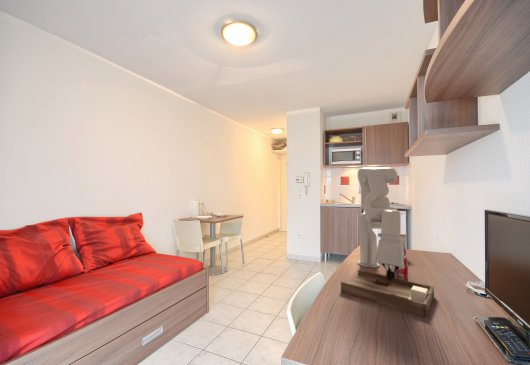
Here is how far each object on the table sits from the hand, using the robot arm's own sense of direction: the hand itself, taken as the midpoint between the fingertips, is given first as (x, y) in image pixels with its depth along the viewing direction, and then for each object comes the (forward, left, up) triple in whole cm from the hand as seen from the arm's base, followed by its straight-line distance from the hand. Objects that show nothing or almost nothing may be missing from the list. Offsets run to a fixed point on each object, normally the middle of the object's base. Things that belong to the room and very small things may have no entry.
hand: (390, 279), depth 105 cm
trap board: (+1, -2, -7) cm, 7 cm away
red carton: (-19, -1, -7) cm, 20 cm away
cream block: (+2, +11, -5) cm, 12 cm away
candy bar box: (-65, -13, -7) cm, 67 cm away
